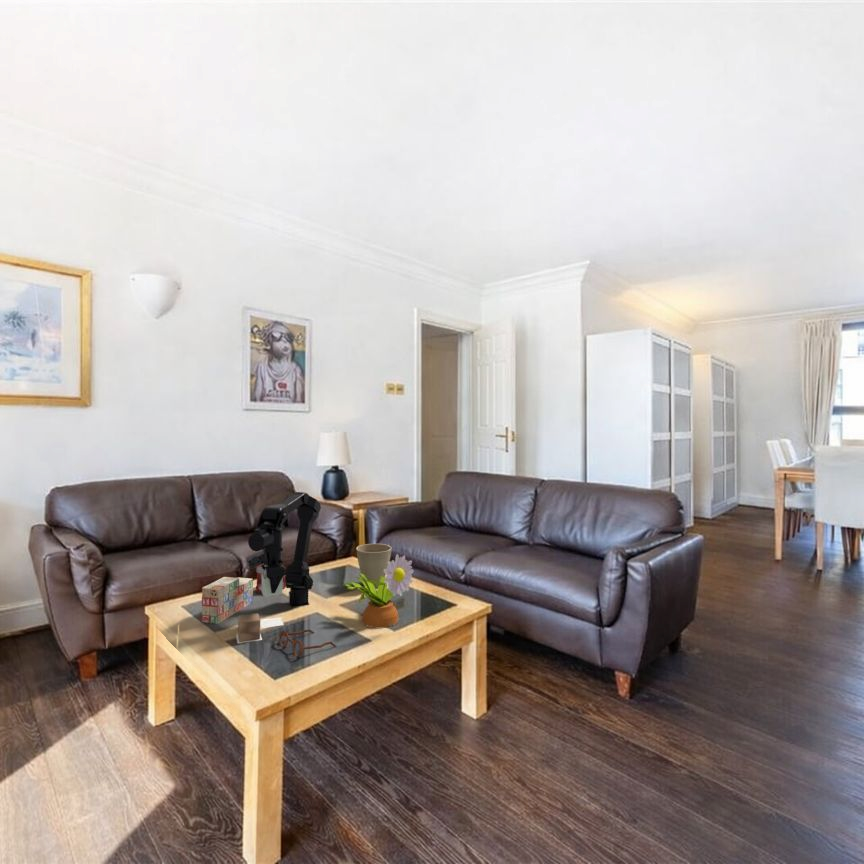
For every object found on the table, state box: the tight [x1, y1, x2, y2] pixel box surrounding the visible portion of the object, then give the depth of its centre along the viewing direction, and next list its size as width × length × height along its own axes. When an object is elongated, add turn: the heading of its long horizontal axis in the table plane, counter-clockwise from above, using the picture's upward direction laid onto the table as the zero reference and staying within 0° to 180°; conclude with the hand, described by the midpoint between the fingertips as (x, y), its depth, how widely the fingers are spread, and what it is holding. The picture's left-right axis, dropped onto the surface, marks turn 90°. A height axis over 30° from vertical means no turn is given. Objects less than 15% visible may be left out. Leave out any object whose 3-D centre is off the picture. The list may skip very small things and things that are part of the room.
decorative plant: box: [342, 553, 414, 628], centre depth 175 cm, size 27×24×25 cm
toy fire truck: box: [255, 564, 287, 594], centre depth 199 cm, size 7×12×10 cm, turn 82°
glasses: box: [278, 628, 338, 658], centre depth 152 cm, size 13×13×5 cm
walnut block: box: [237, 612, 261, 643], centre depth 156 cm, size 6×6×6 cm
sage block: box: [261, 573, 283, 598], centre depth 167 cm, size 6×6×6 cm
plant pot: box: [356, 543, 392, 588], centre depth 210 cm, size 15×15×16 cm
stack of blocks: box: [201, 576, 254, 625], centre depth 176 cm, size 21×6×12 cm, turn 169°
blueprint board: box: [235, 616, 285, 645], centre depth 160 cm, size 20×19×1 cm
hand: (271, 590), depth 167 cm, fingers closed on sage block, 6 cm apart
